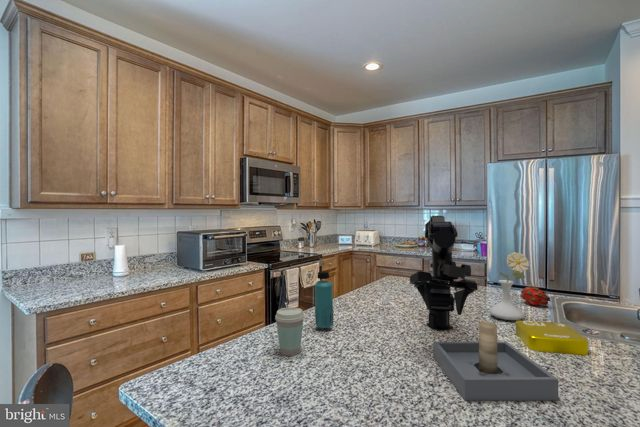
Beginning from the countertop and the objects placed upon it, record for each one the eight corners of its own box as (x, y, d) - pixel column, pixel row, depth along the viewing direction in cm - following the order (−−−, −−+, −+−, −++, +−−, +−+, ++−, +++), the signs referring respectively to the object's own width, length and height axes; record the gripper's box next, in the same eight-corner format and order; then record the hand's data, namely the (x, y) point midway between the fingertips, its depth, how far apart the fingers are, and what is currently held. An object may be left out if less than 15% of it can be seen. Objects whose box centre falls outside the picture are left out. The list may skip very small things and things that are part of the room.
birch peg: (480, 370, 83) (480, 320, 82) (498, 375, 80) (497, 323, 80) (478, 377, 79) (477, 324, 79) (496, 382, 77) (496, 328, 77)
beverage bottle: (332, 332, 109) (331, 273, 109) (312, 331, 111) (312, 273, 110) (335, 326, 116) (334, 270, 115) (316, 324, 117) (316, 269, 117)
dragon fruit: (521, 304, 144) (548, 316, 133) (511, 295, 141) (539, 306, 130) (530, 288, 145) (559, 299, 134) (521, 279, 141) (550, 289, 131)
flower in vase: (491, 320, 119) (490, 253, 119) (487, 311, 129) (487, 249, 129) (532, 325, 114) (532, 254, 114) (525, 315, 125) (525, 250, 124)
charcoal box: (433, 358, 90) (433, 341, 90) (506, 357, 90) (506, 341, 90) (464, 400, 70) (464, 379, 70) (558, 400, 70) (558, 379, 70)
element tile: (530, 351, 94) (530, 335, 94) (513, 332, 108) (513, 318, 108) (591, 357, 90) (591, 340, 90) (565, 336, 105) (565, 321, 104)
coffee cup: (308, 347, 98) (308, 308, 98) (297, 360, 90) (297, 316, 90) (283, 344, 101) (282, 305, 101) (270, 355, 93) (269, 314, 93)
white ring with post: (381, 301, 148) (381, 292, 148) (398, 303, 143) (398, 294, 143) (373, 305, 141) (372, 296, 141) (390, 308, 136) (390, 299, 136)
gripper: (427, 246, 90) (428, 303, 83) (487, 257, 93) (493, 314, 86) (409, 257, 100) (409, 308, 93) (464, 267, 103) (467, 318, 96)
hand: (444, 312), depth 92 cm, fingers open, 9 cm apart
